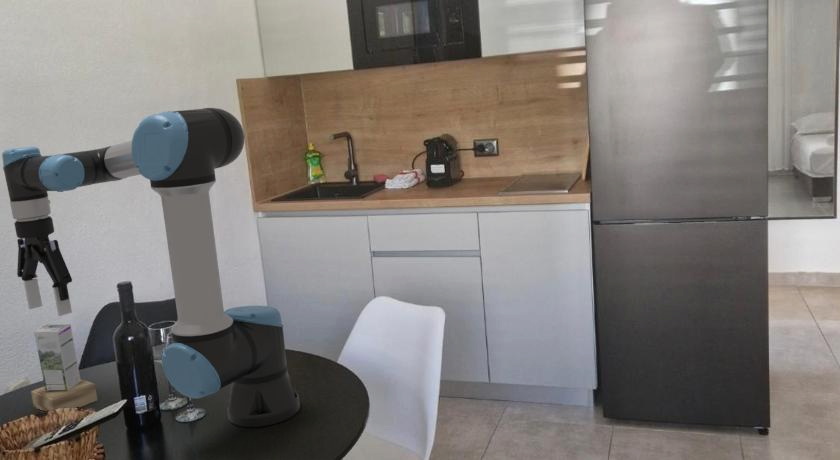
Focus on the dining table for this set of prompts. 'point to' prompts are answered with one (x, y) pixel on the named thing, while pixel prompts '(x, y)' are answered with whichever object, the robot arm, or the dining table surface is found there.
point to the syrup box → (57, 357)
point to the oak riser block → (64, 397)
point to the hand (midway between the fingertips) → (50, 310)
